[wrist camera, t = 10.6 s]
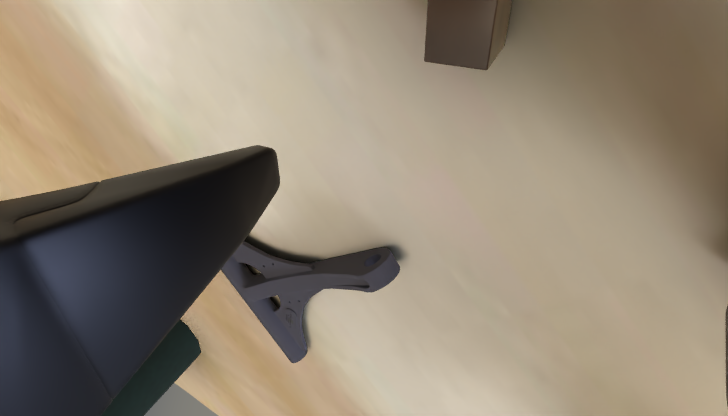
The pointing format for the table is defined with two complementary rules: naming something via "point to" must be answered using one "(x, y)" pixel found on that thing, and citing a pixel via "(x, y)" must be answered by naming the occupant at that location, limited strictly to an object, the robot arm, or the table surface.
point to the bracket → (301, 286)
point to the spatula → (466, 31)
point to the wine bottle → (156, 373)
